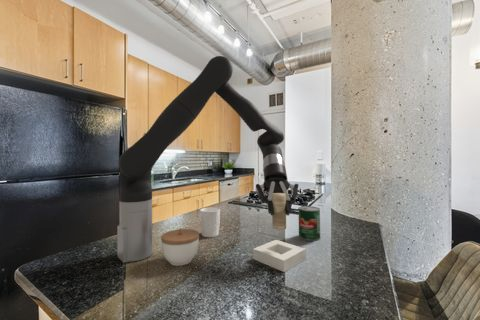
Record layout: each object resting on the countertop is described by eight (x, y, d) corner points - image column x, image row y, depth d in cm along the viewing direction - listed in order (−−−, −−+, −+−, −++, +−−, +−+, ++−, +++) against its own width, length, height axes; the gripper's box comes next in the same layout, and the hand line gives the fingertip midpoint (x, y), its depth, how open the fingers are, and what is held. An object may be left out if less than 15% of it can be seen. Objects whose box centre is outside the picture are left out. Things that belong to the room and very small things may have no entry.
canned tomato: (317, 234, 88) (317, 206, 88) (323, 241, 80) (322, 210, 80) (297, 233, 89) (296, 206, 89) (300, 240, 81) (300, 210, 81)
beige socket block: (284, 272, 58) (284, 260, 58) (253, 258, 66) (253, 248, 66) (306, 259, 66) (306, 248, 66) (276, 248, 74) (275, 239, 74)
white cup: (219, 238, 84) (218, 211, 84) (198, 238, 84) (198, 211, 85) (221, 231, 92) (221, 207, 92) (202, 231, 92) (202, 207, 92)
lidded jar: (159, 272, 59) (159, 236, 59) (162, 255, 69) (162, 225, 69) (201, 266, 61) (200, 232, 61) (197, 251, 72) (197, 222, 72)
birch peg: (280, 230, 63) (280, 195, 63) (269, 227, 66) (269, 193, 66) (288, 227, 66) (288, 193, 66) (278, 224, 69) (277, 192, 69)
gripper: (253, 162, 74) (255, 206, 61) (297, 161, 73) (307, 206, 61) (253, 177, 79) (255, 220, 67) (293, 176, 79) (303, 220, 66)
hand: (280, 213), depth 64 cm, fingers closed on birch peg, 4 cm apart
